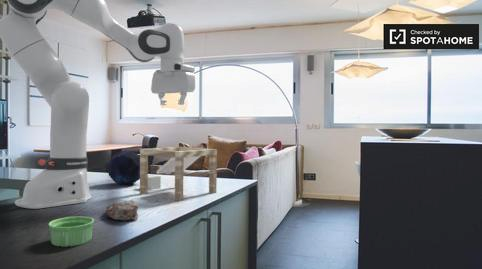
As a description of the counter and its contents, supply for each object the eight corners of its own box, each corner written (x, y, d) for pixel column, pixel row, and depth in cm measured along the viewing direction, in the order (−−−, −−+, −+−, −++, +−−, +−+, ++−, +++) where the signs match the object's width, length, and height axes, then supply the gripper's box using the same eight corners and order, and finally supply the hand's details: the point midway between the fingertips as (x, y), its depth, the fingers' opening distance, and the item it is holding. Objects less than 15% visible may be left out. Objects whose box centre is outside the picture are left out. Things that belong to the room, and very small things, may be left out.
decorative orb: (103, 175, 141) (127, 144, 145) (98, 170, 154) (120, 142, 158) (132, 195, 147) (155, 165, 151) (125, 189, 160) (146, 161, 164)
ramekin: (38, 244, 76) (38, 224, 76) (72, 233, 85) (72, 214, 85) (70, 250, 73) (71, 229, 73) (102, 238, 81) (102, 218, 81)
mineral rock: (104, 212, 105) (104, 197, 105) (132, 210, 108) (132, 195, 108) (107, 226, 91) (107, 208, 91) (139, 223, 95) (139, 206, 94)
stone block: (140, 188, 144) (150, 190, 141) (140, 176, 144) (150, 177, 140) (150, 187, 148) (160, 188, 145) (150, 174, 148) (160, 176, 145)
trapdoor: (179, 153, 125) (178, 151, 125) (156, 174, 132) (155, 171, 132) (206, 151, 136) (205, 149, 137) (183, 170, 143) (182, 168, 144)
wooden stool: (178, 201, 121) (179, 152, 121) (139, 193, 133) (140, 149, 132) (216, 192, 138) (216, 149, 137) (178, 186, 149) (179, 146, 149)
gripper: (147, 69, 140) (147, 105, 140) (186, 64, 128) (185, 103, 128) (159, 71, 145) (159, 105, 145) (198, 67, 133) (197, 104, 133)
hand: (172, 104), depth 137 cm, fingers open, 8 cm apart
